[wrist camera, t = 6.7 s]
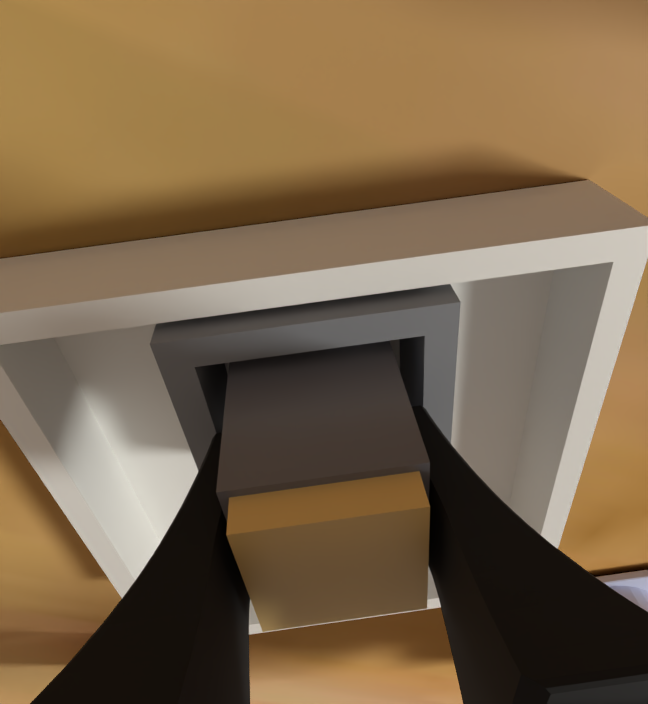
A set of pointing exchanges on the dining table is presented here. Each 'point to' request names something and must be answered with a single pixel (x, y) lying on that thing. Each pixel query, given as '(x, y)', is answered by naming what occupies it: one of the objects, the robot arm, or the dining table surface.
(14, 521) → the dining table surface
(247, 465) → the plug
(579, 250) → the walled box
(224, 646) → the robot arm
